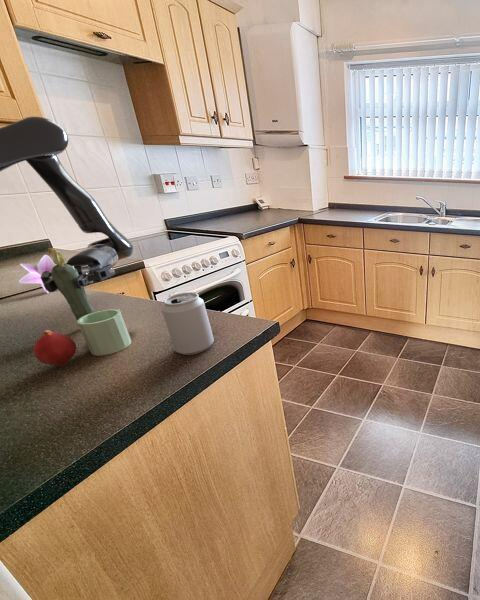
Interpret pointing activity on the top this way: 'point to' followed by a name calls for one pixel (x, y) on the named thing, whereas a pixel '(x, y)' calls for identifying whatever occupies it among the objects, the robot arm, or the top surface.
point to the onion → (54, 348)
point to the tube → (104, 332)
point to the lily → (37, 271)
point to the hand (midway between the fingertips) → (63, 286)
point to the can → (187, 323)
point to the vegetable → (69, 285)
